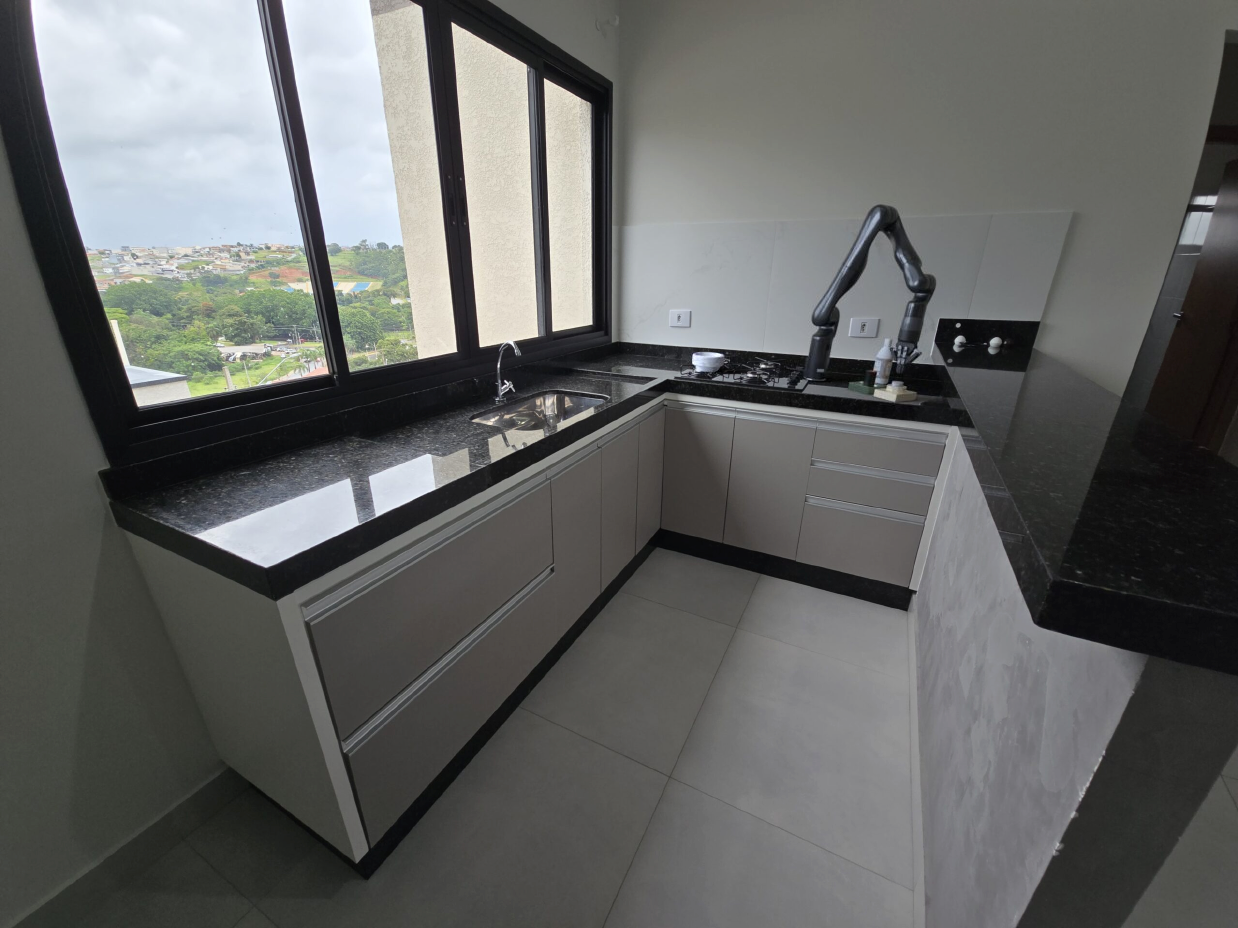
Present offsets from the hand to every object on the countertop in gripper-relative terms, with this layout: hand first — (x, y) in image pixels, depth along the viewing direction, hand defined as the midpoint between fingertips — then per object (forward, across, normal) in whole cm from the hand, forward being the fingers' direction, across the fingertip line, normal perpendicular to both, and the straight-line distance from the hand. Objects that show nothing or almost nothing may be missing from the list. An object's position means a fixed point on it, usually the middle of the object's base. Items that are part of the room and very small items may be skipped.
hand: (899, 373), depth 202 cm
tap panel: (+10, +13, 0) cm, 16 cm away
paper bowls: (+11, +70, +43) cm, 83 cm away
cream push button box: (+10, 0, 0) cm, 10 cm away
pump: (+6, 0, 0) cm, 6 cm away
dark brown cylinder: (+7, +13, 0) cm, 15 cm away
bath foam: (+10, +24, -21) cm, 33 cm away
